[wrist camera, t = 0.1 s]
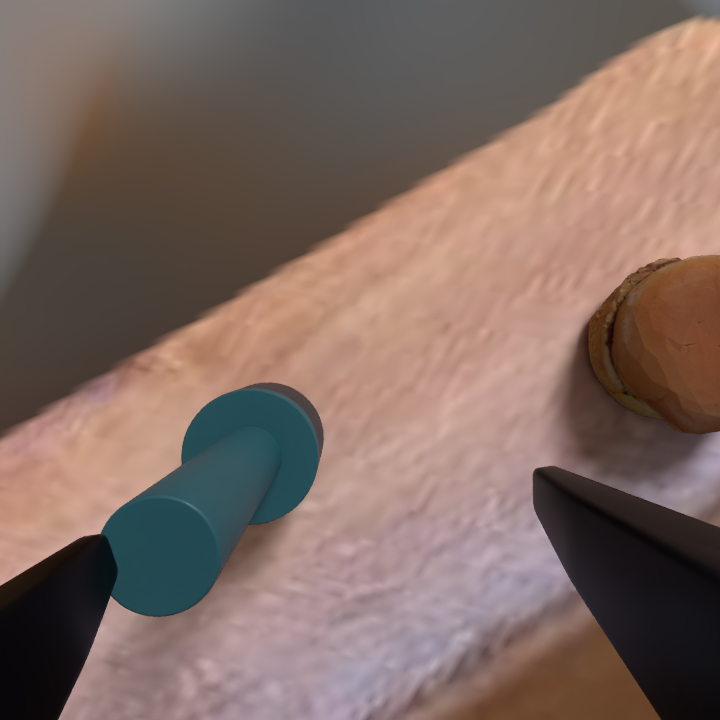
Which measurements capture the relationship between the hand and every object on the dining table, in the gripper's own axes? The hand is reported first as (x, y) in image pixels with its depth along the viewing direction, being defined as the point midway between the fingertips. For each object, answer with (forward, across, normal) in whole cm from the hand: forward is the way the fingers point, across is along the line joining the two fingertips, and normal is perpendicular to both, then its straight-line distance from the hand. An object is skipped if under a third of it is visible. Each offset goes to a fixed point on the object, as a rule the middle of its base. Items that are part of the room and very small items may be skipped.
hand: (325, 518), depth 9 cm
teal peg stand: (+15, +4, +5) cm, 16 cm away
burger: (+16, -20, +2) cm, 25 cm away
